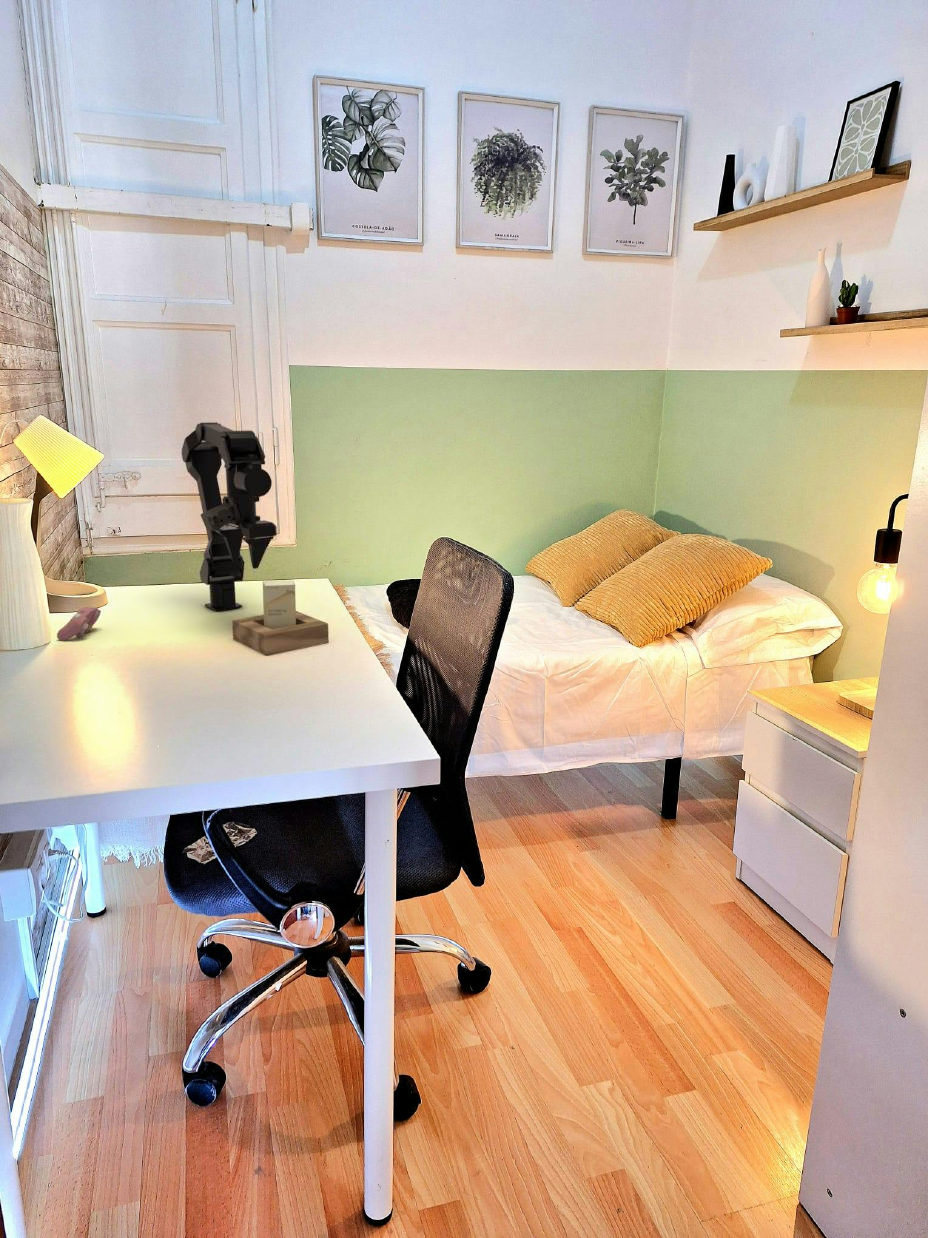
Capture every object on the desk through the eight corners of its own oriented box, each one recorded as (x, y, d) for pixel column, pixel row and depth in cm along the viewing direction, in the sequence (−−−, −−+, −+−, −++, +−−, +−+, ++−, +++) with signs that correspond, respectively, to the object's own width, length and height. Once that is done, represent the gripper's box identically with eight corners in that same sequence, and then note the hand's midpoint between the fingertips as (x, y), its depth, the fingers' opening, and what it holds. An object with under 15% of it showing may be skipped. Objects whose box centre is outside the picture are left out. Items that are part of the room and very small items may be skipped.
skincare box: (266, 644, 168) (263, 585, 165) (264, 638, 172) (261, 580, 169) (297, 642, 170) (295, 584, 167) (295, 636, 174) (292, 579, 171)
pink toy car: (75, 649, 169) (87, 619, 167) (53, 639, 168) (66, 609, 166) (95, 635, 178) (107, 607, 177) (75, 625, 178) (87, 597, 176)
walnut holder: (233, 639, 172) (231, 620, 171) (293, 627, 181) (292, 609, 180) (266, 655, 162) (265, 635, 160) (328, 642, 170) (328, 623, 169)
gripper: (185, 489, 177) (190, 562, 181) (225, 499, 164) (230, 577, 168) (234, 486, 184) (238, 556, 189) (276, 495, 171) (279, 570, 175)
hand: (245, 564), depth 180 cm, fingers open, 9 cm apart
